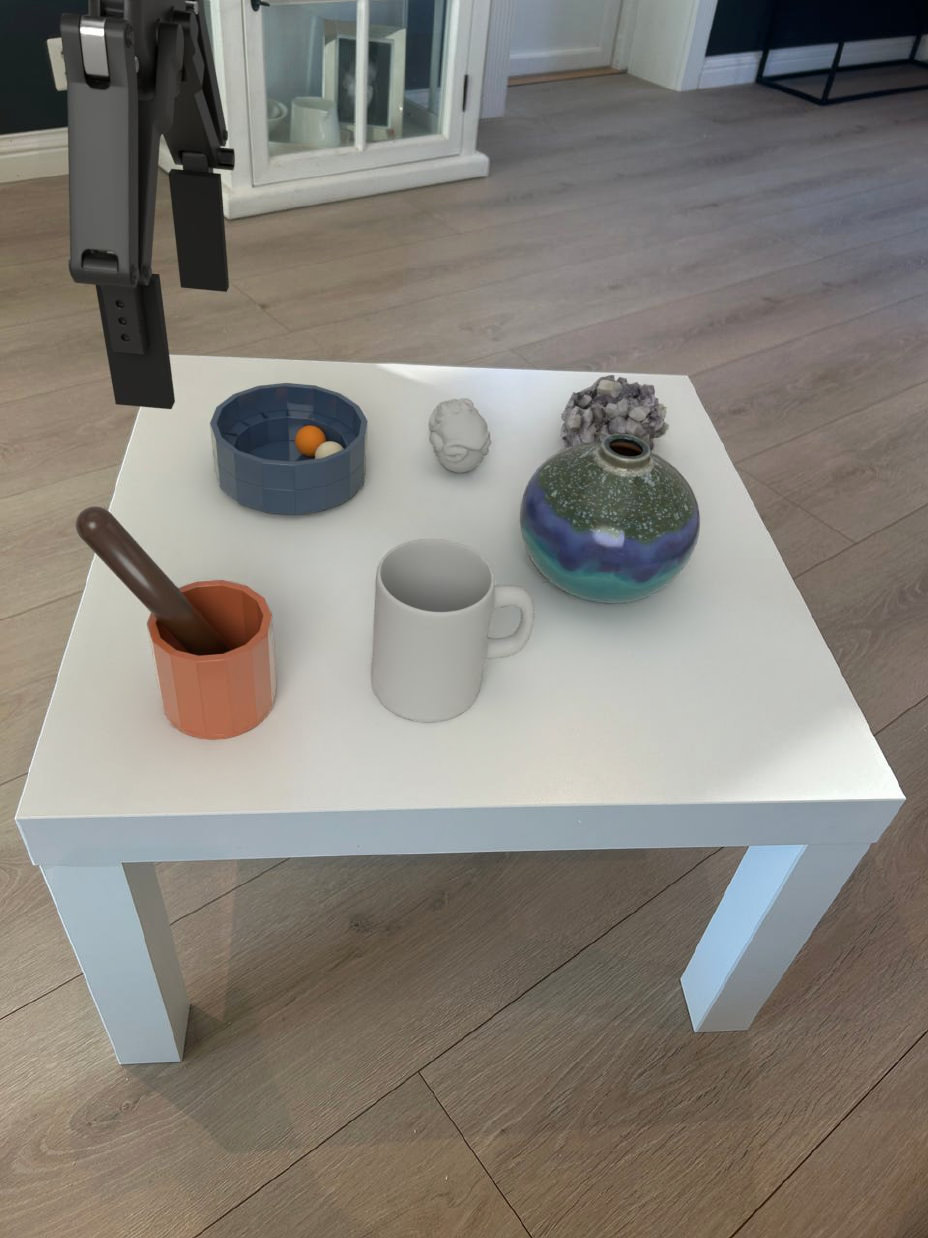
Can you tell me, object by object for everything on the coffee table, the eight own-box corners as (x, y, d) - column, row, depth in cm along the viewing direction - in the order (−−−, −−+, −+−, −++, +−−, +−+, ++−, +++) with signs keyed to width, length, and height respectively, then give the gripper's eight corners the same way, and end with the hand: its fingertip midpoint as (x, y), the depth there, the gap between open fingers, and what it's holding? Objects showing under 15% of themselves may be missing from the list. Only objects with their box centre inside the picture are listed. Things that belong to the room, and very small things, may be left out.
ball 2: (319, 449, 91) (318, 432, 93) (311, 475, 92) (311, 457, 95) (350, 456, 91) (348, 438, 94) (342, 481, 93) (341, 463, 95)
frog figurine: (463, 442, 101) (469, 382, 96) (500, 477, 97) (509, 416, 92) (413, 456, 98) (417, 395, 94) (449, 492, 94) (455, 430, 89)
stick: (230, 704, 72) (60, 524, 61) (248, 679, 73) (85, 498, 62) (251, 708, 70) (80, 524, 59) (269, 682, 71) (105, 498, 60)
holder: (149, 736, 69) (133, 656, 63) (177, 653, 75) (165, 574, 69) (264, 744, 69) (259, 666, 64) (283, 662, 75) (279, 584, 70)
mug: (376, 727, 71) (382, 618, 64) (365, 647, 77) (369, 538, 70) (534, 716, 73) (557, 610, 66) (510, 639, 80) (529, 533, 72)
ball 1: (283, 438, 94) (302, 414, 94) (298, 454, 97) (317, 431, 97) (303, 450, 93) (322, 426, 93) (318, 466, 95) (336, 443, 95)
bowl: (202, 512, 88) (196, 456, 84) (232, 430, 99) (228, 376, 95) (357, 525, 89) (358, 471, 85) (371, 442, 99) (372, 390, 95)
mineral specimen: (556, 446, 95) (610, 355, 93) (528, 427, 103) (577, 342, 101) (650, 501, 100) (704, 415, 97) (617, 478, 108) (666, 398, 106)
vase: (668, 528, 93) (704, 406, 84) (693, 637, 82) (737, 510, 73) (510, 514, 92) (529, 389, 83) (512, 623, 81) (535, 492, 72)
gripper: (131, -109, 29) (196, 474, 44) (268, -169, 48) (283, 255, 62) (-122, -139, 29) (27, 459, 43) (115, -187, 47) (165, 243, 62)
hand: (178, 340), depth 53 cm, fingers open, 13 cm apart
